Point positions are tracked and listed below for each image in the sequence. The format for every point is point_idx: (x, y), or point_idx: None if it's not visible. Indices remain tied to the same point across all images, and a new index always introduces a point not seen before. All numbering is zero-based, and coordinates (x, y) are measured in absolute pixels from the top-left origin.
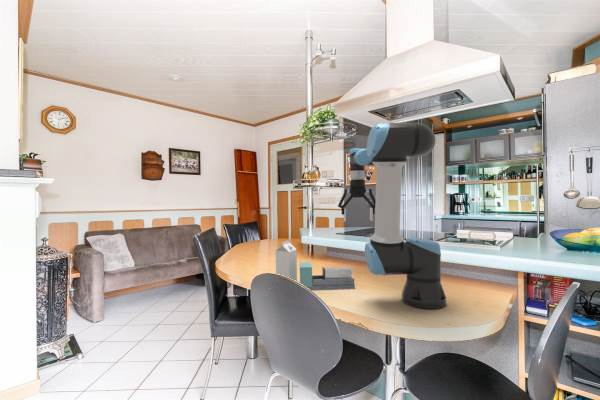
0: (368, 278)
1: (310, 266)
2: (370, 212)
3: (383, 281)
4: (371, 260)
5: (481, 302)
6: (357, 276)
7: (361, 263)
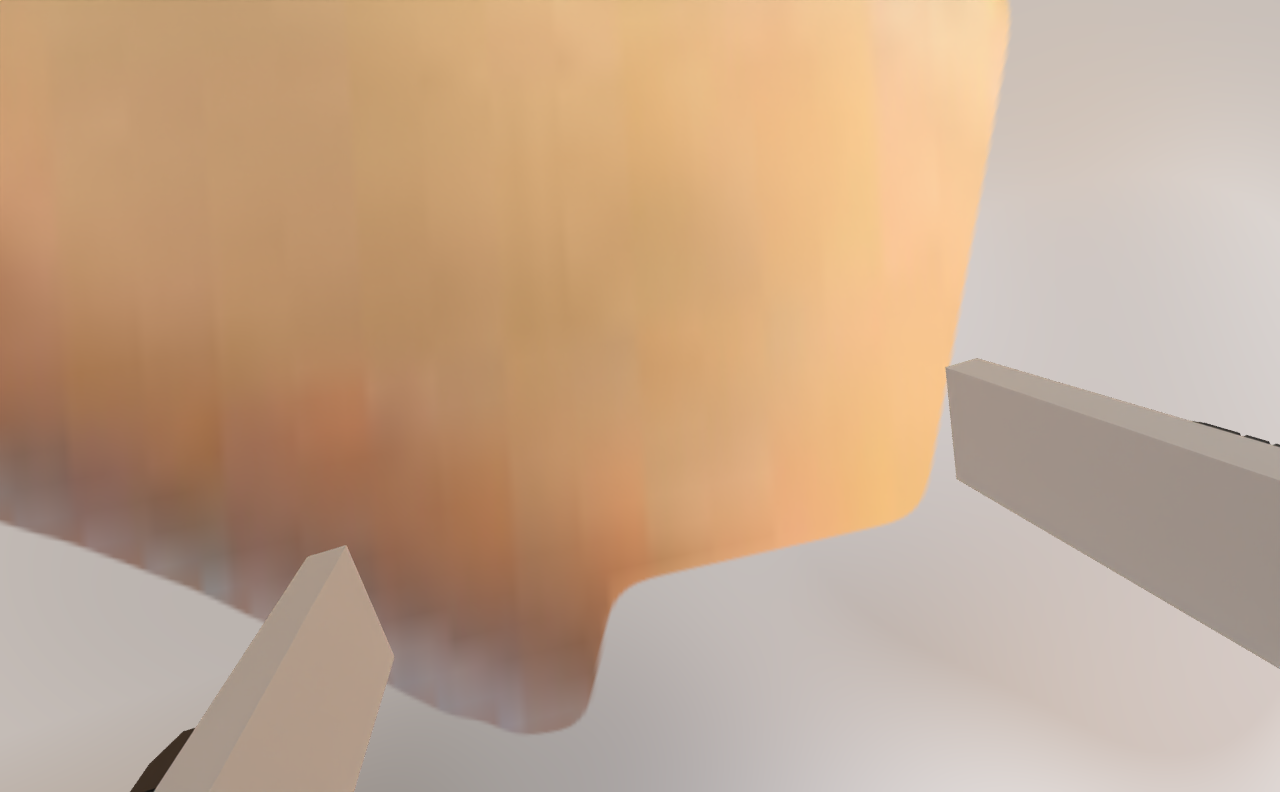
0: (486, 131)
1: None
2: (302, 776)
3: (350, 49)
4: None
5: None
6: (582, 182)
7: (571, 606)
